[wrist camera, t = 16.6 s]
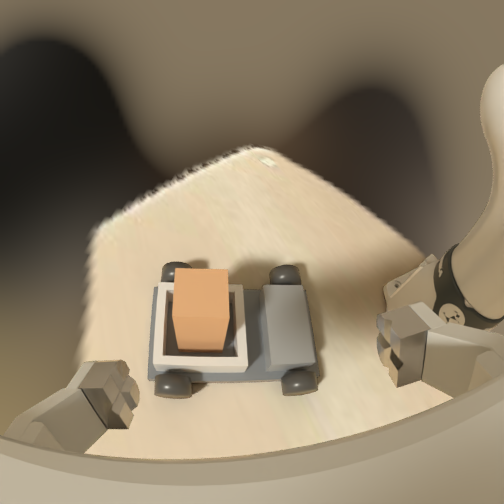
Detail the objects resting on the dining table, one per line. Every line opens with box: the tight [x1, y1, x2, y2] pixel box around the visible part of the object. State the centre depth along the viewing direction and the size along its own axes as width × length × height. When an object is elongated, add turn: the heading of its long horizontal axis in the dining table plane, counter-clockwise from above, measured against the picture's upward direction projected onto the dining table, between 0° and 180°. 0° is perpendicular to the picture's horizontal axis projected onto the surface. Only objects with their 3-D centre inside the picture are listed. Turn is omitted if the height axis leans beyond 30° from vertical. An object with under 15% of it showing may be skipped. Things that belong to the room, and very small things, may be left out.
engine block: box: [172, 268, 230, 353], centre depth 32 cm, size 5×5×10 cm
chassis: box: [148, 262, 320, 399], centre depth 36 cm, size 20×16×4 cm
